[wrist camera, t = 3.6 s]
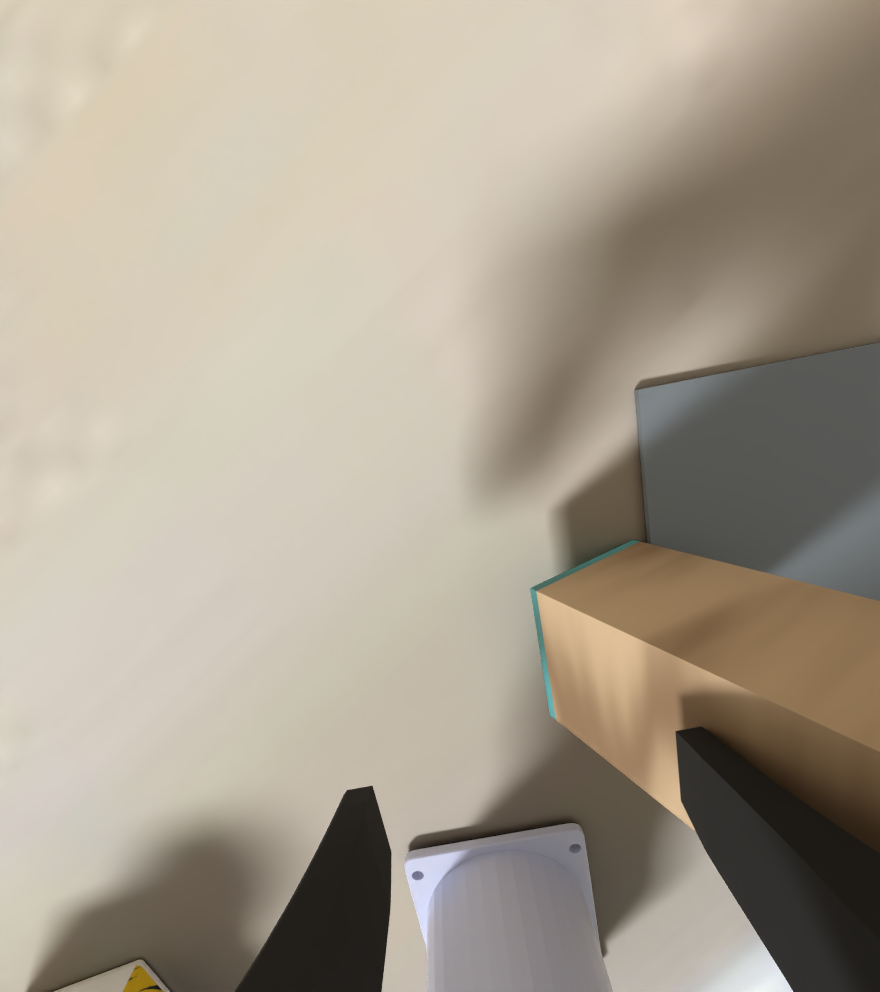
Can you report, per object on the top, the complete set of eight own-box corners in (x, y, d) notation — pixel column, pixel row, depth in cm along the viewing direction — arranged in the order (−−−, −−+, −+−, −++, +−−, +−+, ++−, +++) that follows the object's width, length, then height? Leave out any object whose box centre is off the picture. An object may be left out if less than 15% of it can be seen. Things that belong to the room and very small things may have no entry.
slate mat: (993, 706, 19) (1001, 711, 19) (665, 763, 20) (669, 769, 19) (1043, 310, 15) (1055, 308, 15) (634, 389, 16) (638, 389, 15)
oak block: (643, 654, 18) (983, 824, 10) (549, 715, 16) (888, 985, 8) (633, 539, 17) (1008, 633, 9) (530, 588, 15) (905, 764, 7)
